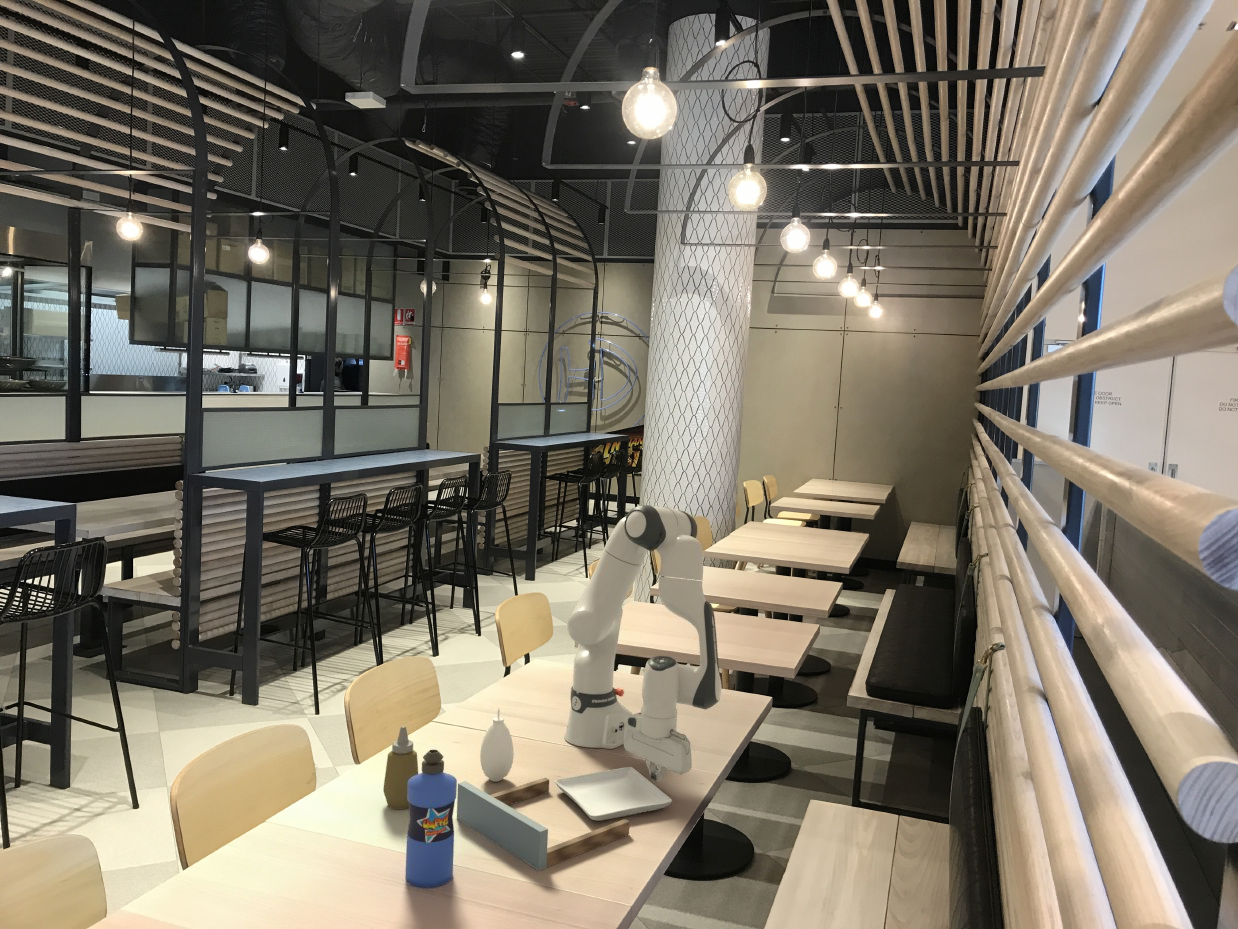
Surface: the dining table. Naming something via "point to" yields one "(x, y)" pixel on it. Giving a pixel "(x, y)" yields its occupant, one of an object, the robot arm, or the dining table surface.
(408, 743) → the squeeze bottle
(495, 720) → the white dust blower
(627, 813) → the salad plate
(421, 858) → the water bottle
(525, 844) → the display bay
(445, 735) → the dining table surface
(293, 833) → the dining table surface
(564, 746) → the dining table surface
